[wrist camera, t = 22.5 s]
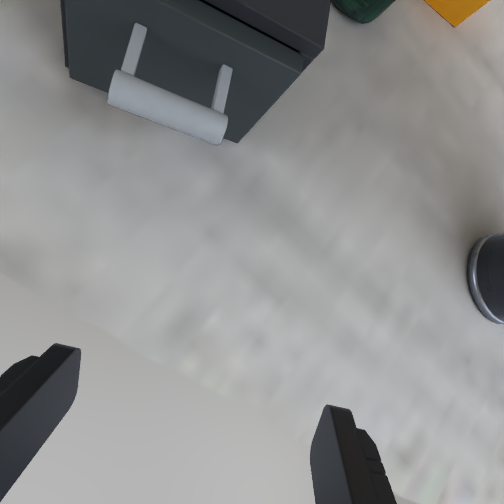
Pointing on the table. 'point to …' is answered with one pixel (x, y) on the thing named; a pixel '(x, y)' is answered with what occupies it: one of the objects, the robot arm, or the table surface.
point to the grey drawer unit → (179, 63)
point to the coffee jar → (363, 8)
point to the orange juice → (456, 9)
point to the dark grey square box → (272, 22)
